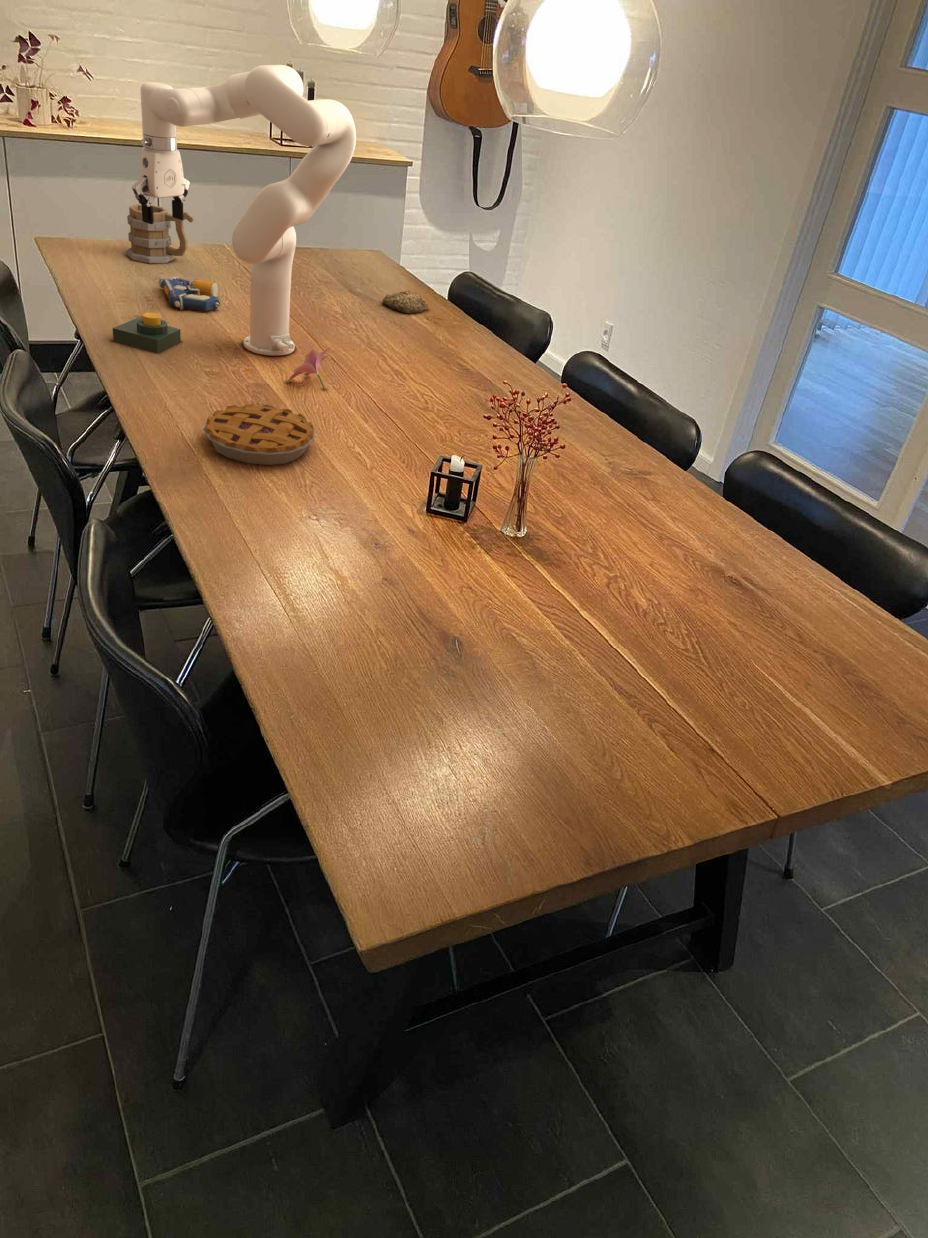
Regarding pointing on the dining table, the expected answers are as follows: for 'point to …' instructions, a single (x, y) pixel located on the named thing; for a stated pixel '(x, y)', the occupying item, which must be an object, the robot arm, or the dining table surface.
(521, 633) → the dining table surface
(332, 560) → the dining table surface
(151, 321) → the yellow push button
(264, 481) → the dining table surface
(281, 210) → the robot arm
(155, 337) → the button block
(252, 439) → the pie
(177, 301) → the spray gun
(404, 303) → the bread roll
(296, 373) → the lily
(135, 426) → the dining table surface
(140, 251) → the tankard
